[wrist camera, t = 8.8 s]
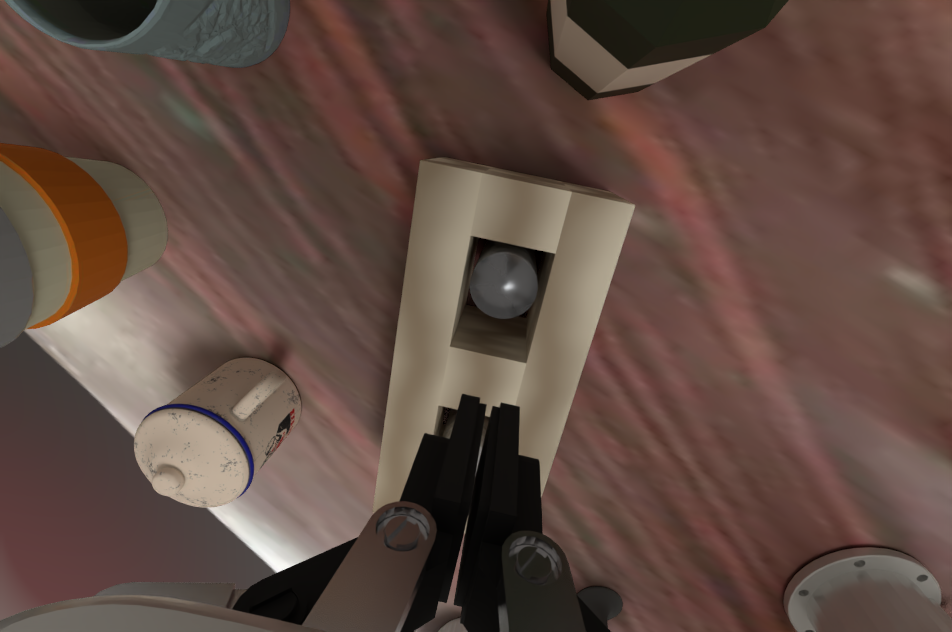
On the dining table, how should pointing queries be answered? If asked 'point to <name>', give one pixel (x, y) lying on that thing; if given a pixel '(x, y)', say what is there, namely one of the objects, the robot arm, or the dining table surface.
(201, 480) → the teacup with lid
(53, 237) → the reusable coffee cup
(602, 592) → the sundae
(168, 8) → the blue cup
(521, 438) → the birch block
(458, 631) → the ramekin
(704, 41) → the wine bottle
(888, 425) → the dining table surface
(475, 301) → the graphite peg
